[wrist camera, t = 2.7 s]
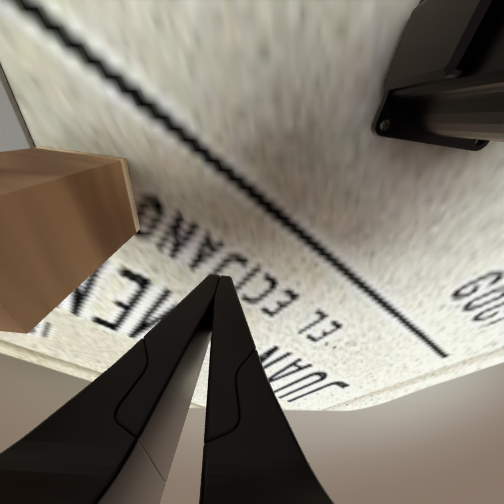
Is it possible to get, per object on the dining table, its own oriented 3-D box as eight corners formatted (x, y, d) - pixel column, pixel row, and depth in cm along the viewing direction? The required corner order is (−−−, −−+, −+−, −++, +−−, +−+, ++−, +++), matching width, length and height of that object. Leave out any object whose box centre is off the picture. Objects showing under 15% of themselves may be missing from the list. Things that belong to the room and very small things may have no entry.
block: (125, 158, 13) (-70, 216, 5) (140, 228, 15) (27, 333, 8) (43, 146, 12) (-293, 188, 5) (73, 220, 15) (-112, 320, 8)
